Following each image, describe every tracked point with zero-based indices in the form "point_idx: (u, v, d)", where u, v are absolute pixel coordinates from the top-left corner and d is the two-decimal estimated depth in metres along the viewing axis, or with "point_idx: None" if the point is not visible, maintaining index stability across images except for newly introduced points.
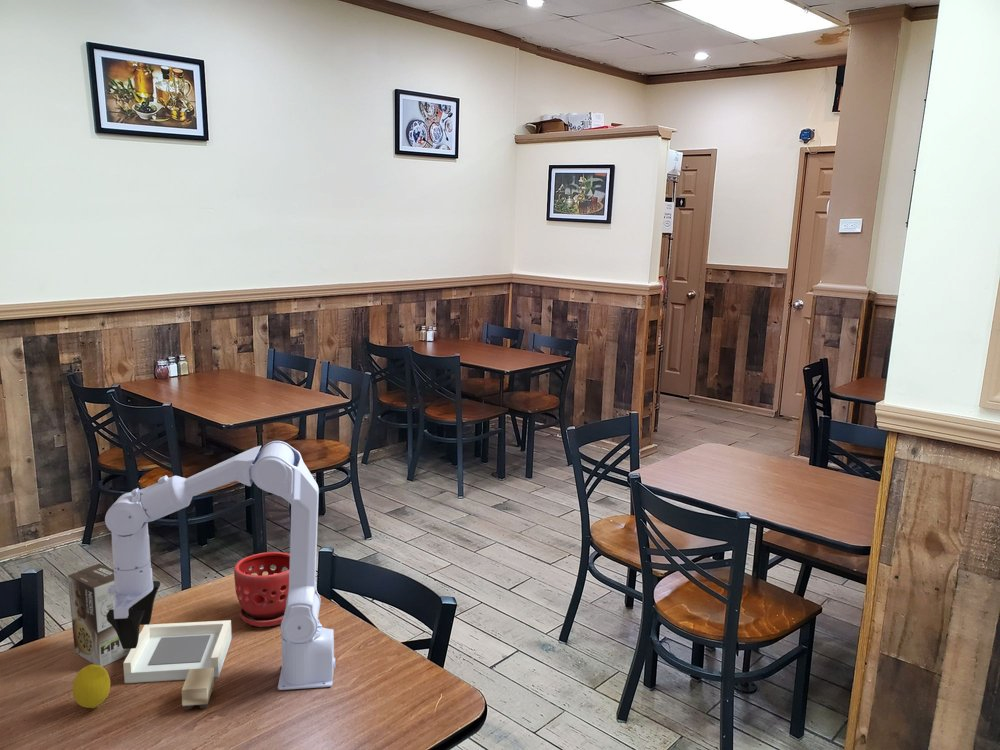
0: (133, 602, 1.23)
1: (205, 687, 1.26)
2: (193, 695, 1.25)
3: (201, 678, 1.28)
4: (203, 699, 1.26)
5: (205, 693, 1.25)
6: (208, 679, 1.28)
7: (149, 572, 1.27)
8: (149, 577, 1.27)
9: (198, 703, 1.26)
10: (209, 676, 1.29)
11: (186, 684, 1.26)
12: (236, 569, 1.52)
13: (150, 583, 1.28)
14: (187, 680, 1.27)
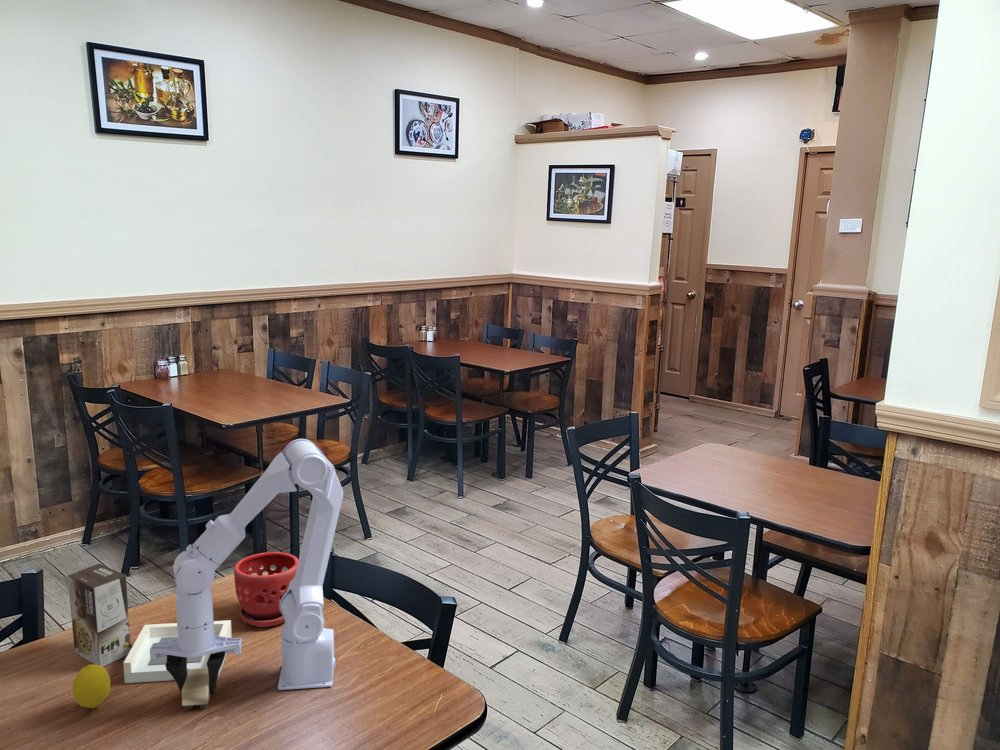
0: (163, 651, 1.24)
1: (205, 687, 1.26)
2: (193, 695, 1.25)
3: (201, 678, 1.28)
4: (203, 699, 1.26)
5: (205, 693, 1.25)
6: (208, 679, 1.28)
7: (189, 638, 1.23)
8: (188, 642, 1.23)
9: (198, 703, 1.26)
10: None
11: (186, 684, 1.26)
12: (236, 569, 1.52)
13: (190, 649, 1.24)
14: (187, 680, 1.27)
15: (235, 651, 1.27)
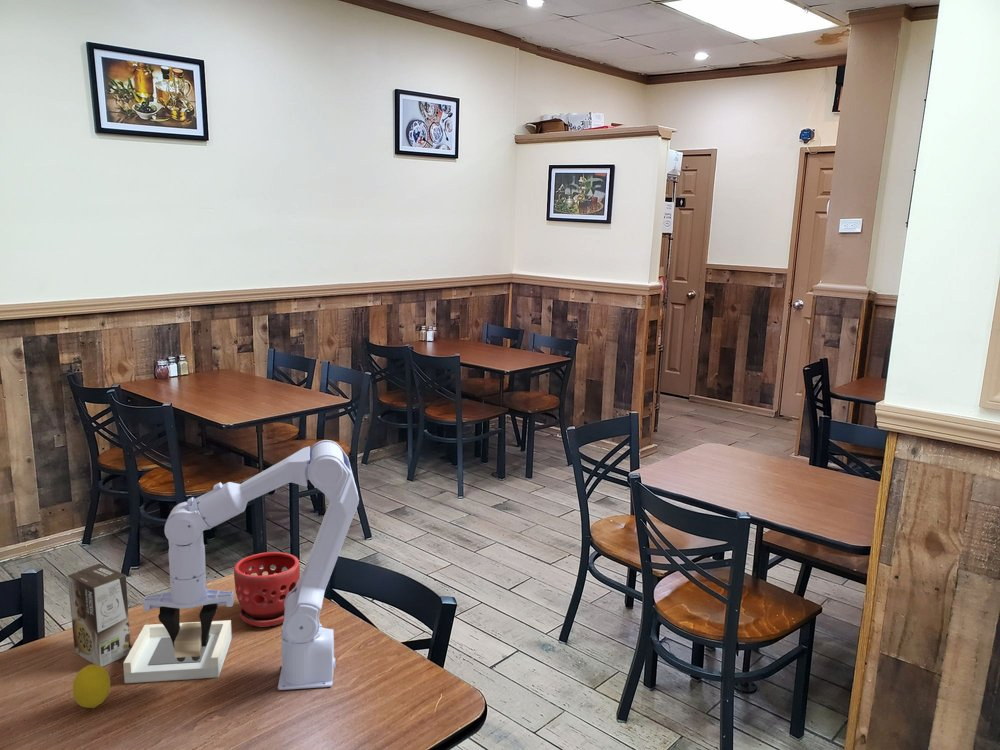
0: (155, 603, 1.26)
1: (197, 639, 1.27)
2: (185, 647, 1.27)
3: (193, 631, 1.30)
4: (195, 651, 1.27)
5: (197, 645, 1.27)
6: (200, 632, 1.29)
7: (182, 589, 1.25)
8: (181, 593, 1.25)
9: (190, 655, 1.27)
10: (201, 630, 1.30)
11: (179, 637, 1.28)
12: (236, 569, 1.52)
13: (183, 600, 1.26)
14: (180, 633, 1.29)
15: (227, 603, 1.29)
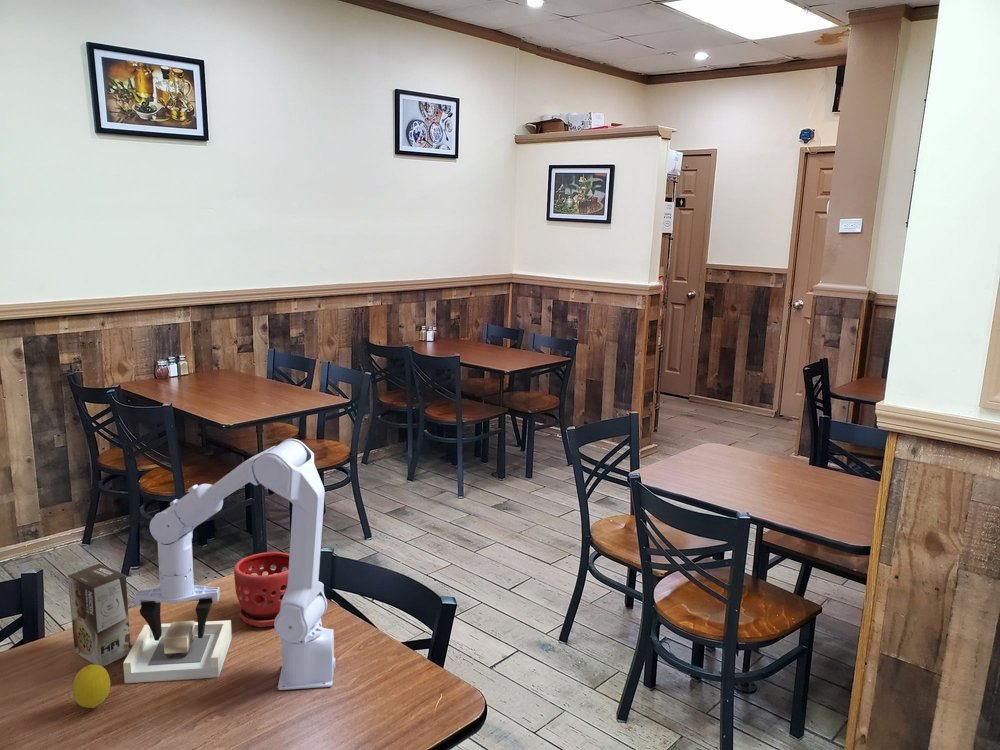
0: (146, 597, 1.35)
1: (185, 637, 1.36)
2: (174, 644, 1.36)
3: (182, 629, 1.39)
4: (183, 648, 1.36)
5: (185, 642, 1.36)
6: (188, 630, 1.39)
7: (170, 585, 1.34)
8: (169, 588, 1.34)
9: (178, 651, 1.36)
10: (189, 628, 1.39)
11: (168, 634, 1.37)
12: (236, 569, 1.52)
13: (171, 595, 1.35)
14: (169, 631, 1.38)
15: (213, 598, 1.38)
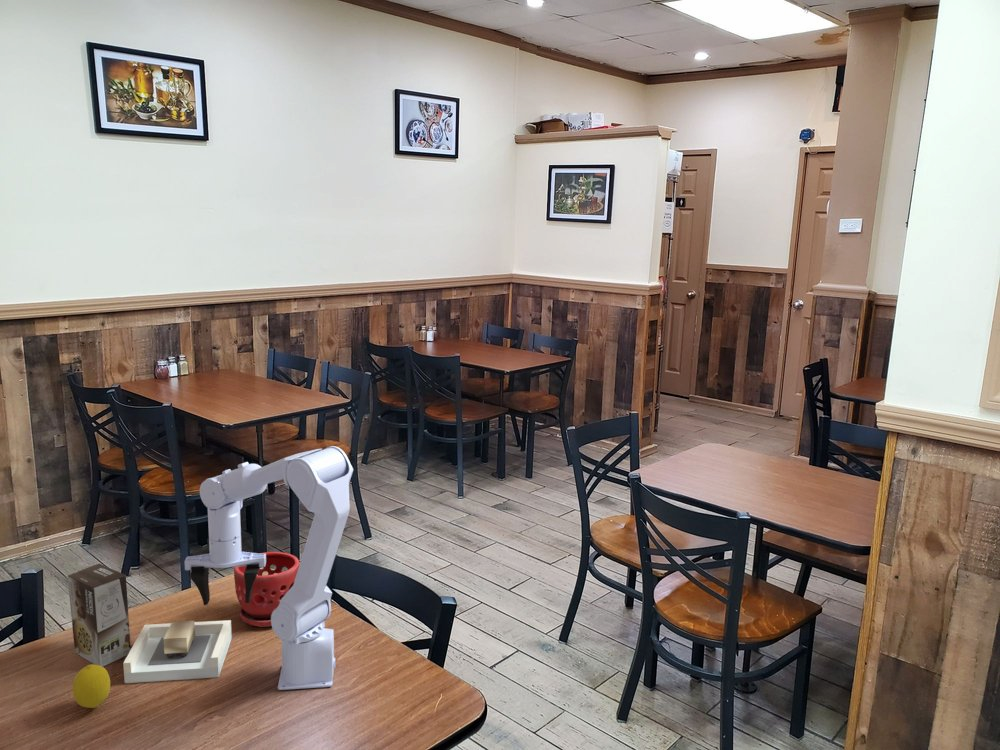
0: (196, 563, 1.40)
1: (185, 637, 1.36)
2: (174, 644, 1.36)
3: (182, 629, 1.39)
4: (183, 648, 1.36)
5: (185, 642, 1.36)
6: (188, 630, 1.39)
7: (220, 550, 1.38)
8: (219, 554, 1.39)
9: (178, 651, 1.36)
10: (189, 628, 1.39)
11: (168, 634, 1.37)
12: (236, 569, 1.52)
13: (221, 560, 1.39)
14: (169, 631, 1.38)
15: (260, 564, 1.42)
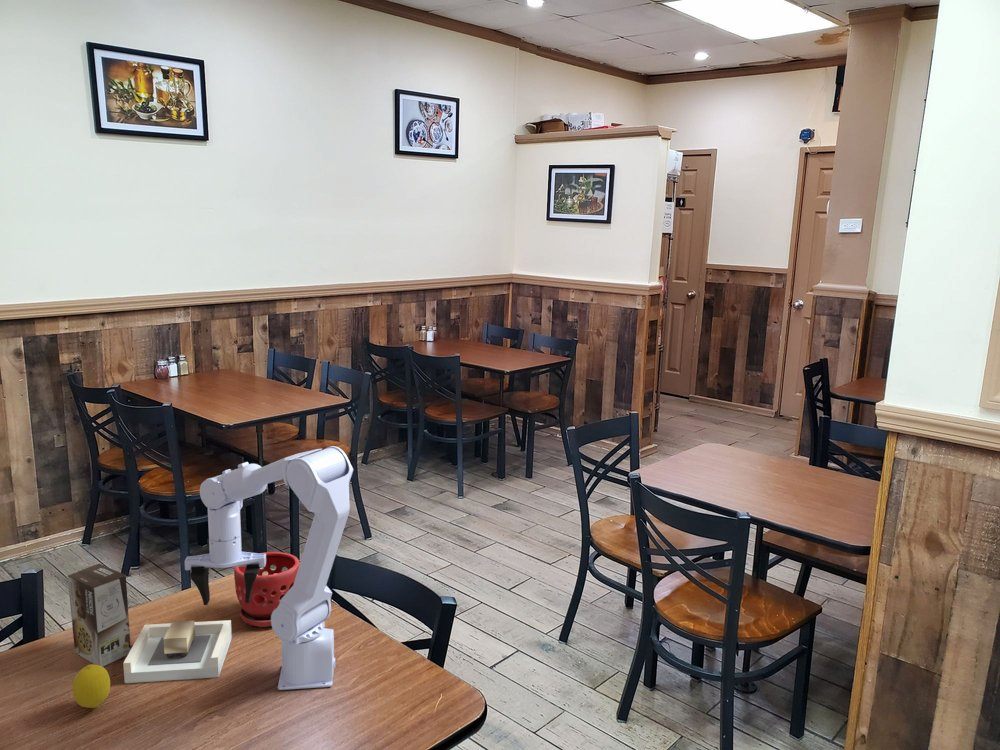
0: (196, 563, 1.40)
1: (185, 637, 1.36)
2: (174, 644, 1.36)
3: (182, 629, 1.39)
4: (183, 648, 1.36)
5: (185, 642, 1.36)
6: (188, 630, 1.39)
7: (220, 550, 1.38)
8: (219, 554, 1.39)
9: (178, 651, 1.36)
10: (189, 628, 1.39)
11: (168, 634, 1.37)
12: (236, 569, 1.52)
13: (221, 560, 1.39)
14: (169, 631, 1.38)
15: (260, 564, 1.42)
